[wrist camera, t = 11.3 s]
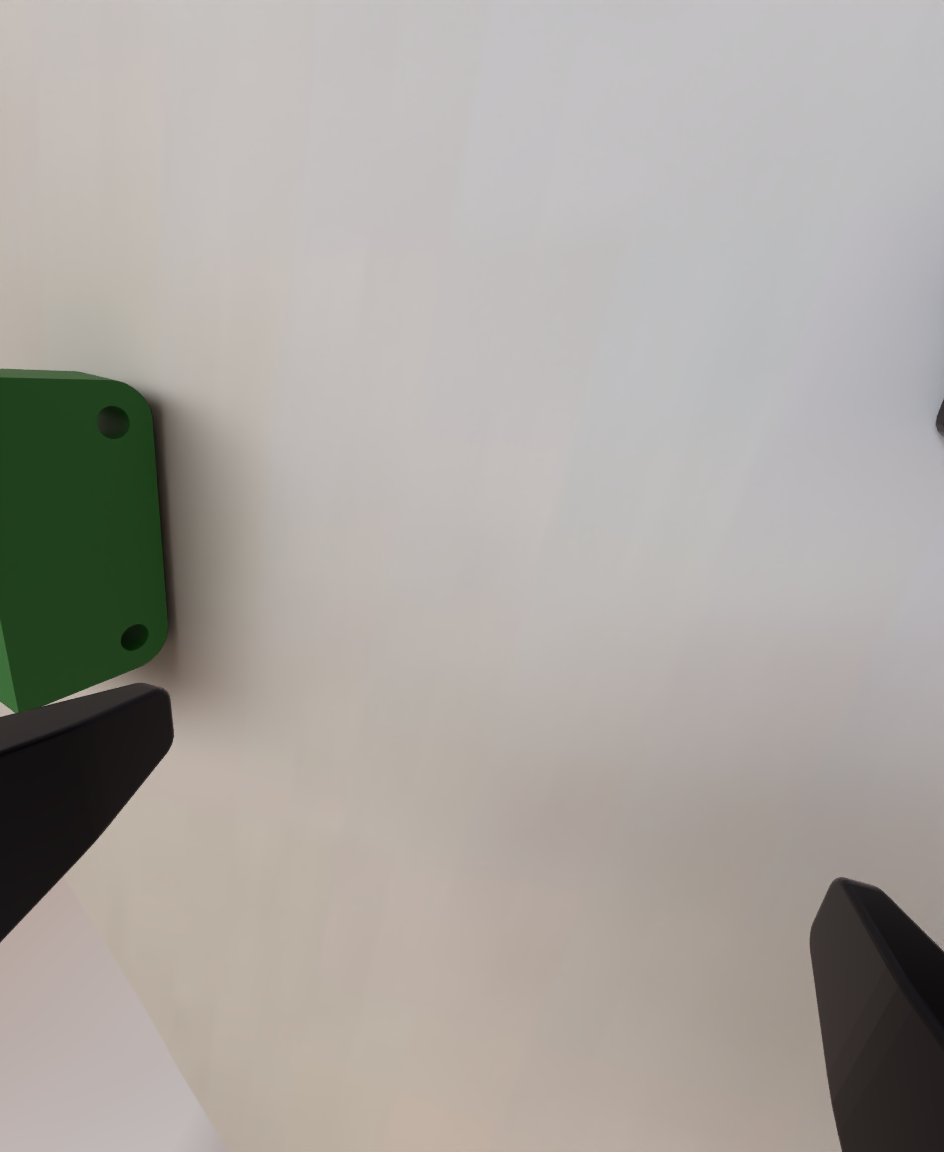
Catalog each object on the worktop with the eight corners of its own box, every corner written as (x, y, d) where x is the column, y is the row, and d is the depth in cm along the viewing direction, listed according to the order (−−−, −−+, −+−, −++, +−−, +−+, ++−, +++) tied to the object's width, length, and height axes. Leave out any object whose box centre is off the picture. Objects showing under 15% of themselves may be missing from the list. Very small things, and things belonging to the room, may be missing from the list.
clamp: (144, 408, 26) (-121, 296, 18) (233, 432, 24) (-28, 314, 15) (64, 654, 26) (-236, 655, 18) (144, 704, 24) (-162, 731, 16)
